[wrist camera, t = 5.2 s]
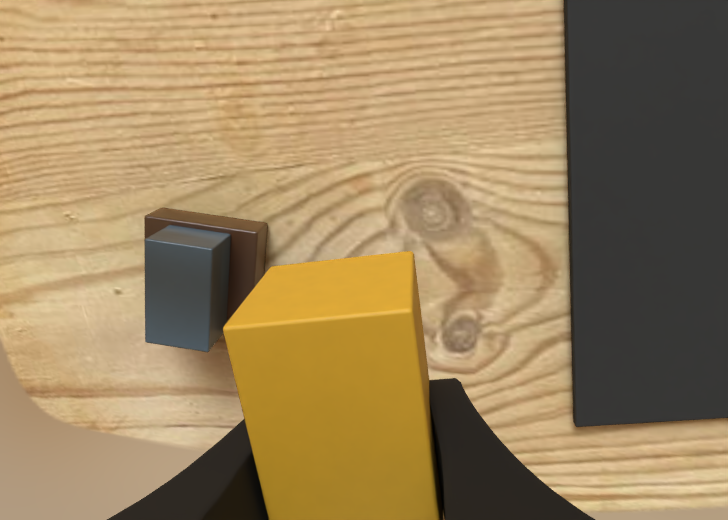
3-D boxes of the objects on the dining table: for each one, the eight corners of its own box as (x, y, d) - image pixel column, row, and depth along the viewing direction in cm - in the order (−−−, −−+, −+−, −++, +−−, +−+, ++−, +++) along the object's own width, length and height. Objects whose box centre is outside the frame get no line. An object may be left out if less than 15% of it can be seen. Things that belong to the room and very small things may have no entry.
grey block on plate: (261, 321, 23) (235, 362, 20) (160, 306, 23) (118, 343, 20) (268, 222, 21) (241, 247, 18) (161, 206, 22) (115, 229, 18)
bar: (450, 559, 13) (461, 690, 10) (331, 563, 14) (309, 691, 11) (413, 249, 11) (412, 309, 8) (269, 265, 11) (220, 327, 8)
